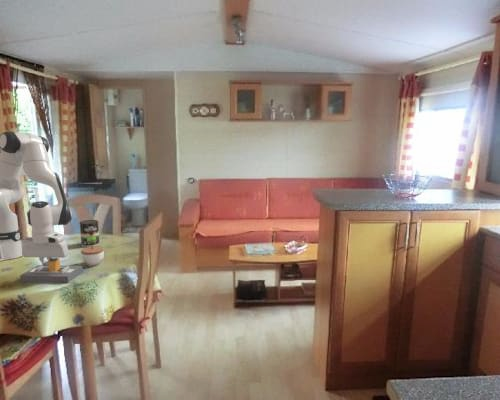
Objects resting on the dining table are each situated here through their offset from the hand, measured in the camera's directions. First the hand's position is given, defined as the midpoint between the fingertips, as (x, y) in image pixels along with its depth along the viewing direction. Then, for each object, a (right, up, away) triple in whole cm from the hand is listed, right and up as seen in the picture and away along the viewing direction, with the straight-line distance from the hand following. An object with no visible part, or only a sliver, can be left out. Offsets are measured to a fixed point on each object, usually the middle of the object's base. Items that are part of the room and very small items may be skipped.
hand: (46, 265), depth 170 cm
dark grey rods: (+3, -3, +11) cm, 12 cm away
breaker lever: (+4, -2, 0) cm, 4 cm away
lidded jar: (+14, -2, +18) cm, 23 cm away
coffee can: (-1, +4, +50) cm, 51 cm away
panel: (+2, -5, +1) cm, 6 cm away
